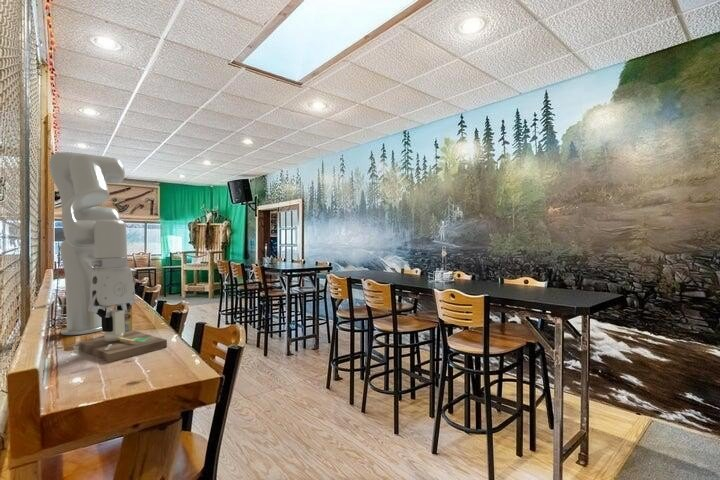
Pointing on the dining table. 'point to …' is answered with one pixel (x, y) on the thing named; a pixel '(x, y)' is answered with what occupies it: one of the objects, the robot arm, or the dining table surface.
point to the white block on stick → (117, 327)
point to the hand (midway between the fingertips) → (113, 329)
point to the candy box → (128, 319)
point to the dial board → (122, 346)
